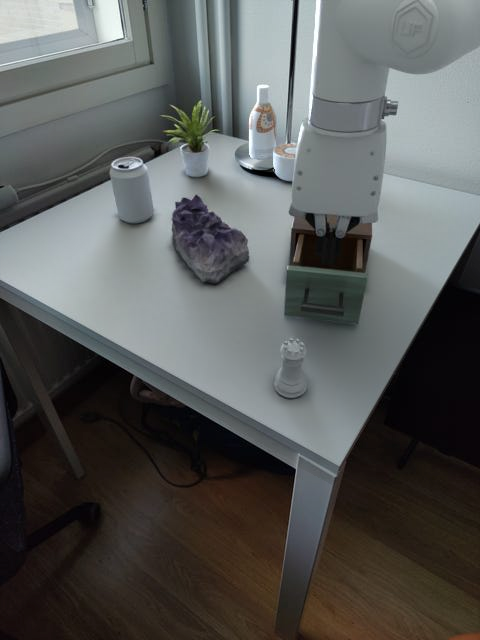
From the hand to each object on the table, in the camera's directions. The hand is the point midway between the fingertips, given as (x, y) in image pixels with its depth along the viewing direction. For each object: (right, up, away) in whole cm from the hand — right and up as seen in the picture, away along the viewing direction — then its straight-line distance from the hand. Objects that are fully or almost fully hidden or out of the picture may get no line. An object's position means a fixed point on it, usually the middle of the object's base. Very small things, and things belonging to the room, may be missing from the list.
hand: (327, 258), depth 60 cm
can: (-34, +14, +39) cm, 53 cm away
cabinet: (+5, +3, +24) cm, 25 cm away
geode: (-18, +4, +27) cm, 33 cm away
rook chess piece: (-5, -17, +2) cm, 18 cm away
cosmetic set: (+1, +27, +52) cm, 58 cm away
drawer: (+2, -5, +14) cm, 15 cm away
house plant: (-23, +29, +56) cm, 67 cm away
